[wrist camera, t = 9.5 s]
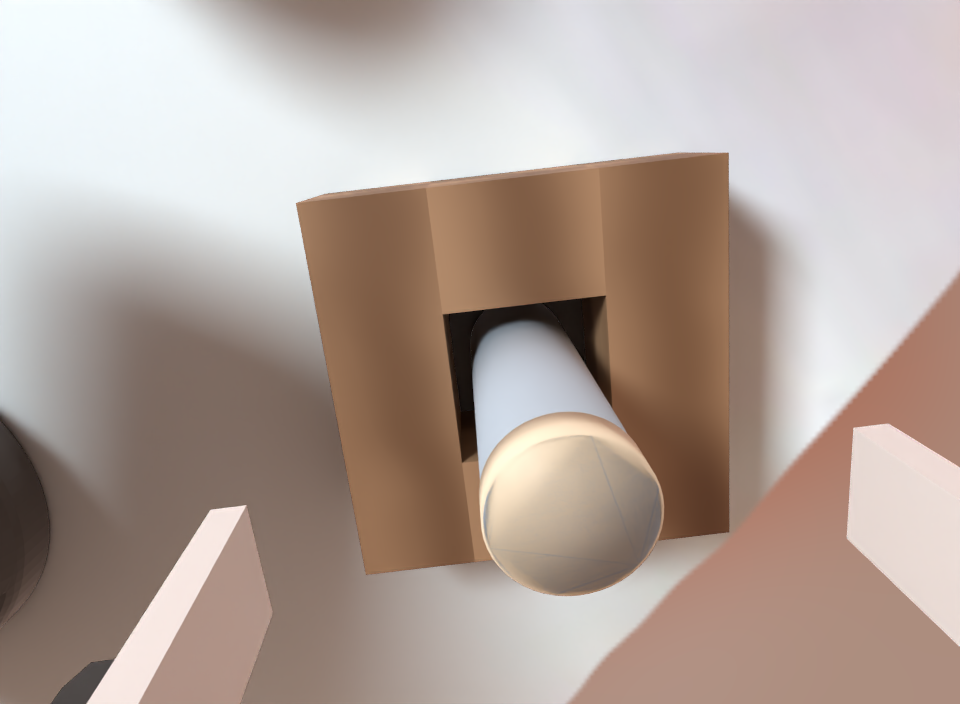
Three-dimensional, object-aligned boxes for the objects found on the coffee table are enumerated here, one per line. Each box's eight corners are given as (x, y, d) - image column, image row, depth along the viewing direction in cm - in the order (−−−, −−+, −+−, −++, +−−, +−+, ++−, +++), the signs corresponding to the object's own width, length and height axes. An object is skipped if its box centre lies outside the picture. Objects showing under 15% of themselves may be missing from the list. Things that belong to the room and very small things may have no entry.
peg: (474, 394, 29) (491, 605, 15) (463, 302, 28) (470, 444, 14) (568, 383, 29) (666, 584, 15) (561, 290, 28) (661, 422, 14)
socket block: (380, 507, 30) (366, 574, 25) (325, 193, 26) (296, 203, 21) (685, 471, 30) (729, 532, 25) (678, 152, 26) (728, 152, 21)
